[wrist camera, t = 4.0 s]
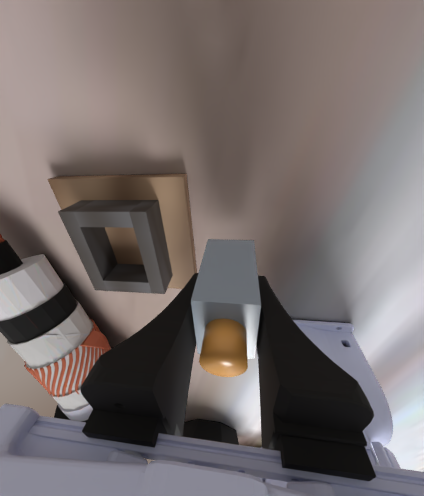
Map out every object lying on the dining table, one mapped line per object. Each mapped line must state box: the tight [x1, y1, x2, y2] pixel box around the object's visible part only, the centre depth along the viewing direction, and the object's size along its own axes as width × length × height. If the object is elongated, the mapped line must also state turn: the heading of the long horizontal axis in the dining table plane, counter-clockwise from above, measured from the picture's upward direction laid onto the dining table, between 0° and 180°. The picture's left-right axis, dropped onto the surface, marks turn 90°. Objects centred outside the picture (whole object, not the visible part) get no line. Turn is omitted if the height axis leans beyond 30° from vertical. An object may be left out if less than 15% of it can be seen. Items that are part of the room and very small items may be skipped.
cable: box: [0, 234, 111, 422], centre depth 24 cm, size 10×34×10 cm, turn 15°
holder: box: [48, 174, 197, 294], centre depth 17 cm, size 11×11×4 cm
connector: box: [191, 239, 261, 377], centre depth 11 cm, size 3×4×7 cm
